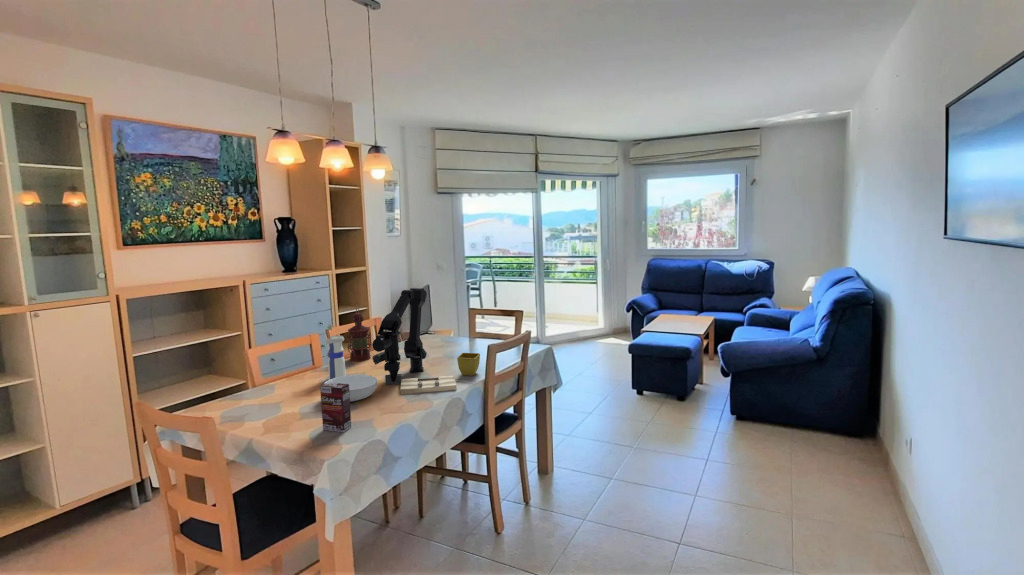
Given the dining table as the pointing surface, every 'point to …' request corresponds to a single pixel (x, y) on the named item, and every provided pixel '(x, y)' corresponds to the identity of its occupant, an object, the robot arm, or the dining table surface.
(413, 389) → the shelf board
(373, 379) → the serving bowl
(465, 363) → the flower pot
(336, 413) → the supplement box
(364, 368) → the dining table surface
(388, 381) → the dark grey chamfered block
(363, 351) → the lantern
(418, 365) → the robot arm
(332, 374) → the water bottle
